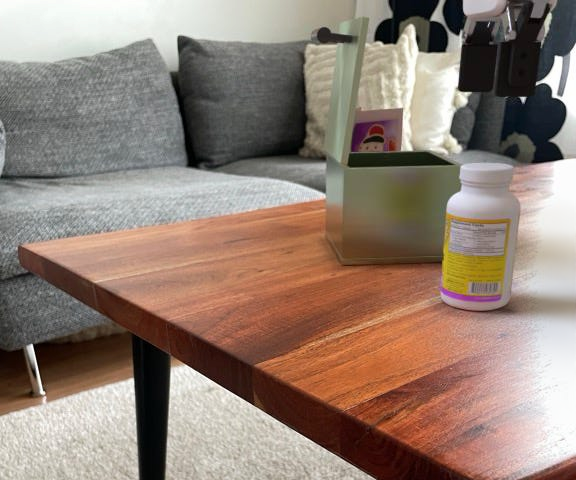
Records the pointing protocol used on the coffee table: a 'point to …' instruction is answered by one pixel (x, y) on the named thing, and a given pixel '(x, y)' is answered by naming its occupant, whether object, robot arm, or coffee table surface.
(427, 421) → the coffee table surface
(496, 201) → the supplement bottle
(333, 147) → the bin lid
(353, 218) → the bin
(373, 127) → the purple cartoon box
